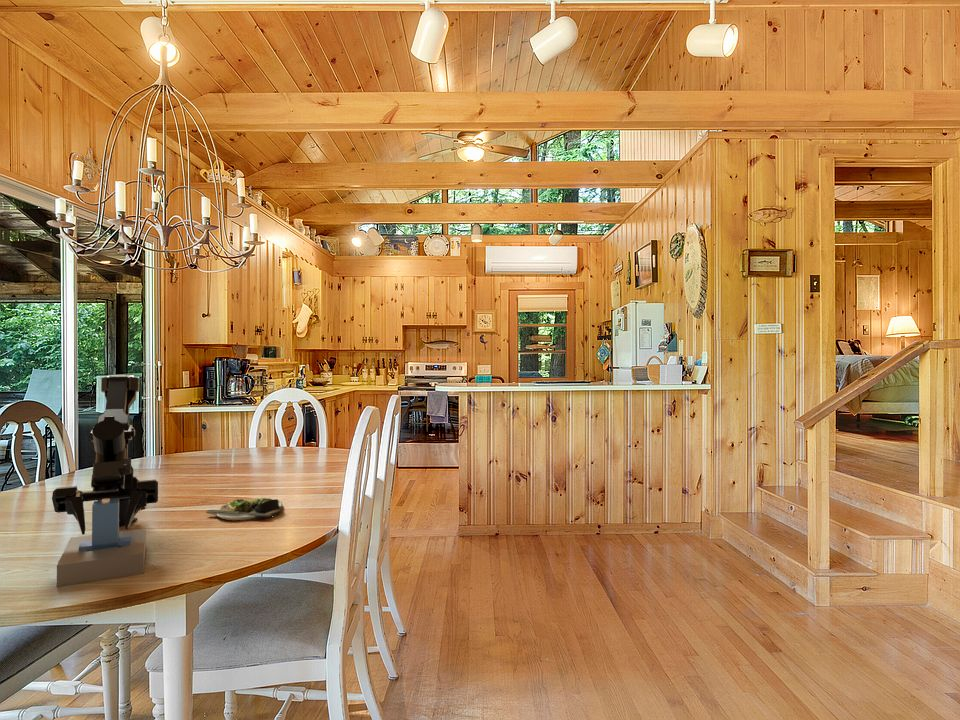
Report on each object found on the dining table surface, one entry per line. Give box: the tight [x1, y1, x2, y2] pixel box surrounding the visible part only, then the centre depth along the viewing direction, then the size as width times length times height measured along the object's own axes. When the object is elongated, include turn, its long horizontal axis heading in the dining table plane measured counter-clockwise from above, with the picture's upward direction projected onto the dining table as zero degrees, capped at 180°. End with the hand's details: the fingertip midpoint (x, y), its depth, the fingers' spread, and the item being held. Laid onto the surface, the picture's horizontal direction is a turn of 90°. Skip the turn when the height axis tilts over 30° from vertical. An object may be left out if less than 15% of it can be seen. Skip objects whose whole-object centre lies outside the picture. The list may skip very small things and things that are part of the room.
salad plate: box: [205, 497, 283, 522], centre depth 155 cm, size 19×18×5 cm
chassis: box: [56, 528, 147, 587], centre depth 116 cm, size 18×14×4 cm
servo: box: [79, 498, 131, 551], centre depth 116 cm, size 4×9×14 cm, turn 119°
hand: (105, 531), depth 115 cm, fingers open, 7 cm apart
